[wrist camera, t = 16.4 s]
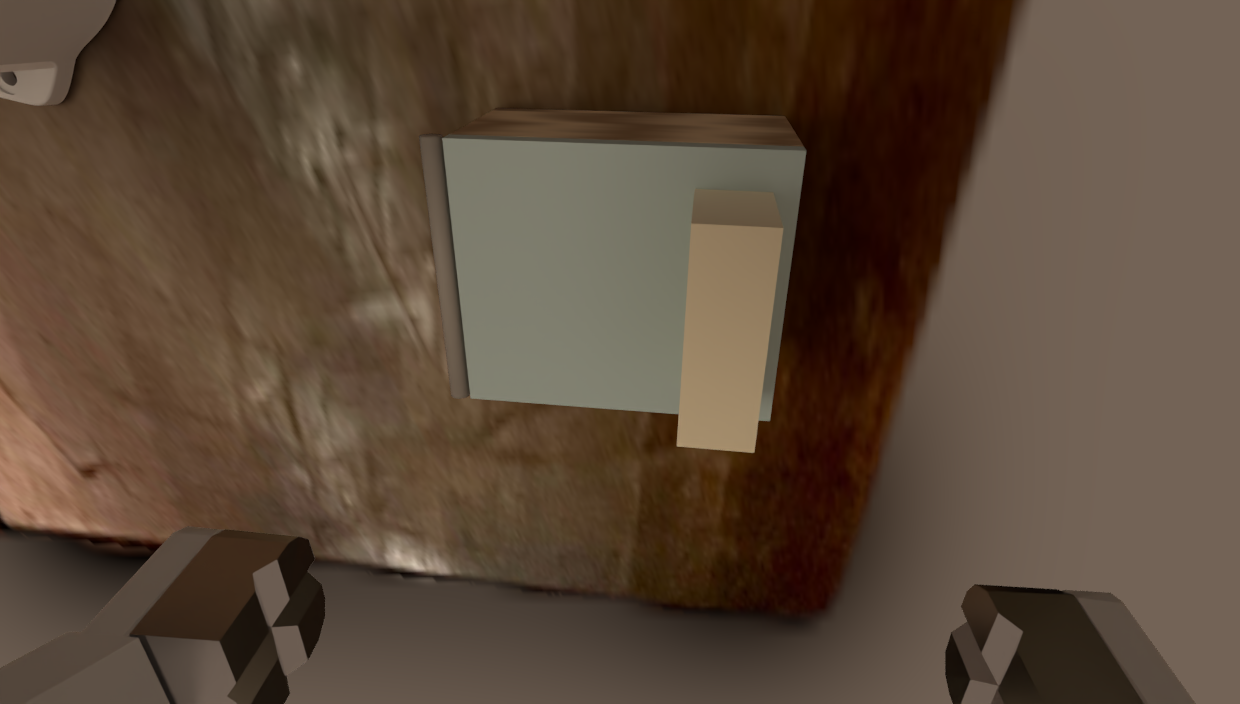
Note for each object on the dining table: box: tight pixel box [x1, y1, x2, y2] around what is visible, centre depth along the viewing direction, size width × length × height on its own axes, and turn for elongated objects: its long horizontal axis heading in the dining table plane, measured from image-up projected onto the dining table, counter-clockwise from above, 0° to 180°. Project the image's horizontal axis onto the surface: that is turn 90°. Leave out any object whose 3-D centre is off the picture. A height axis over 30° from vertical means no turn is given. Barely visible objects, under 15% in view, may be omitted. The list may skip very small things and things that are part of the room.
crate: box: [451, 108, 803, 146], centre depth 33 cm, size 14×12×7 cm
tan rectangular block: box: [677, 189, 783, 453], centre depth 26 cm, size 3×9×4 cm, turn 179°
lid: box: [419, 134, 806, 421], centre depth 29 cm, size 15×12×1 cm
